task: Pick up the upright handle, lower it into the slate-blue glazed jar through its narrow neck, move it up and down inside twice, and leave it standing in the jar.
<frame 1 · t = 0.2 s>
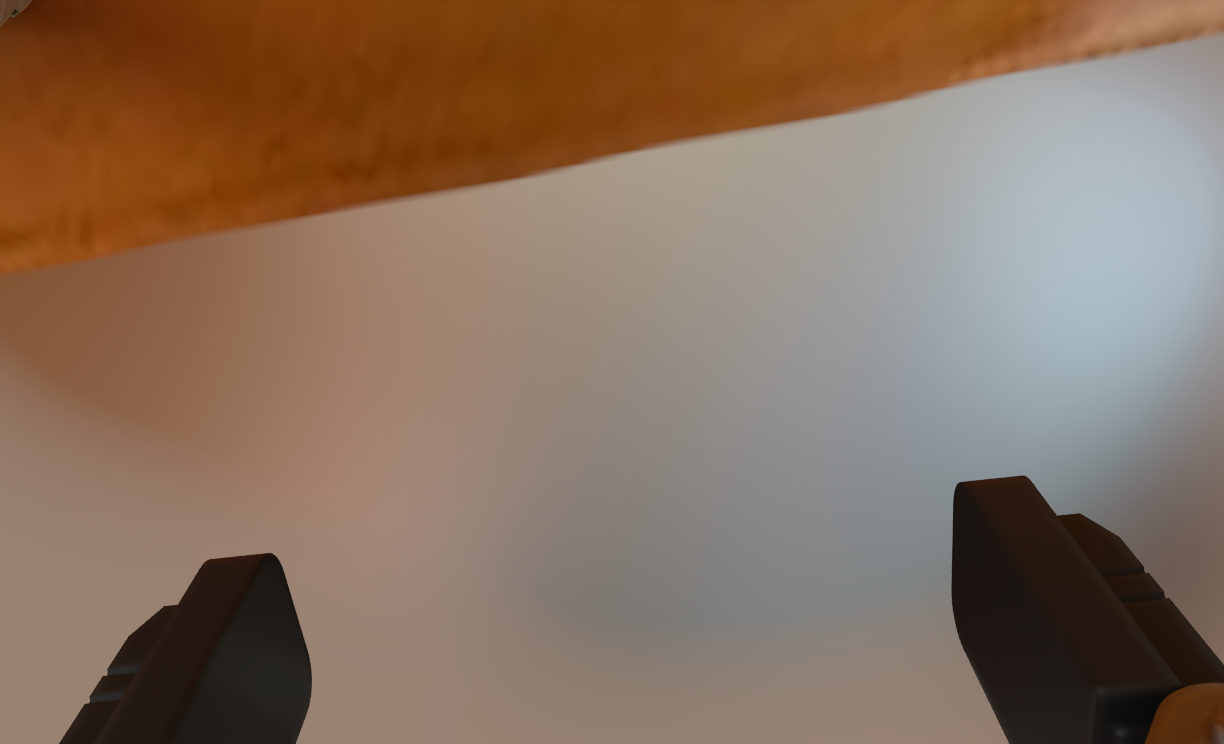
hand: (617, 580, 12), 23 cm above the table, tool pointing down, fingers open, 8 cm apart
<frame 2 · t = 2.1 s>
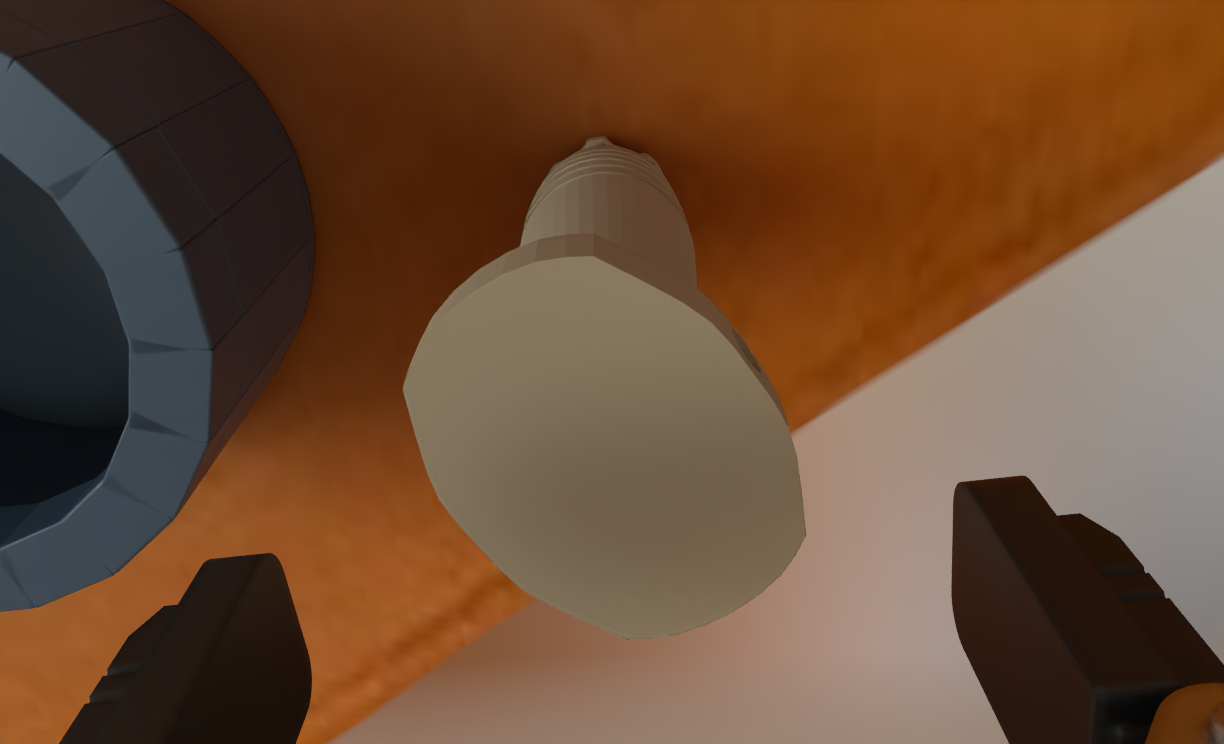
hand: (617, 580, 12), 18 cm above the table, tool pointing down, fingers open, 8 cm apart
jar: (63, 219, 29), on the table
handle: (605, 190, 29), on the table
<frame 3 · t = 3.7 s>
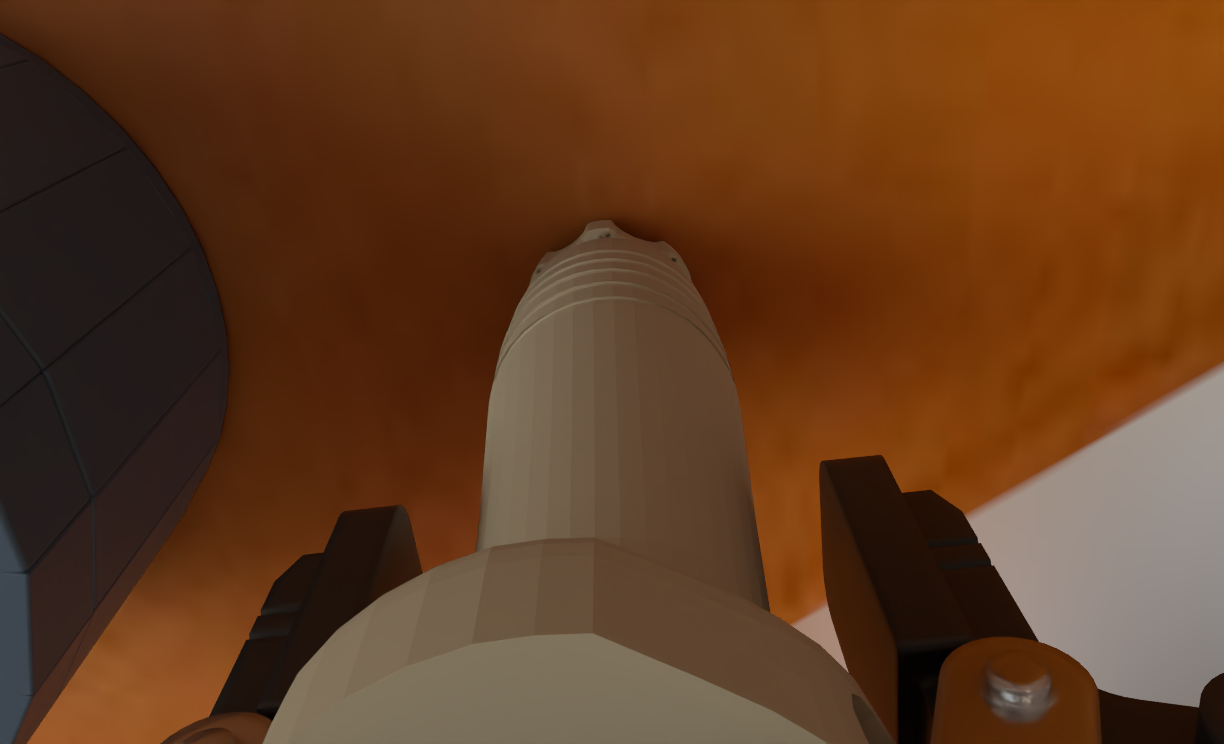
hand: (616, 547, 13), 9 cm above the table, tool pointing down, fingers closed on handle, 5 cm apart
handle: (611, 287, 22), on the table, touching gripper
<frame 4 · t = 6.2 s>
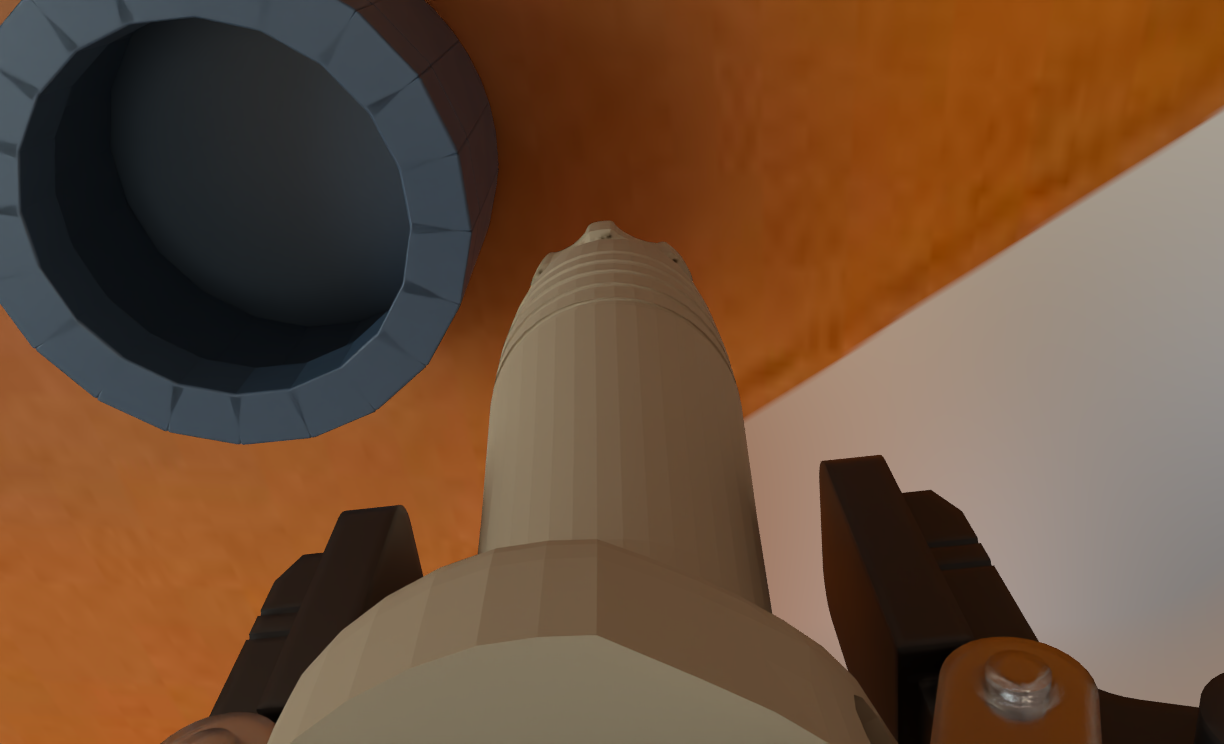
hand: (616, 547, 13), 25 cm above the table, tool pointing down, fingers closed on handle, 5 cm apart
jar: (299, 153, 36), on the table
handle: (612, 287, 22), point 16 cm above the table, touching gripper
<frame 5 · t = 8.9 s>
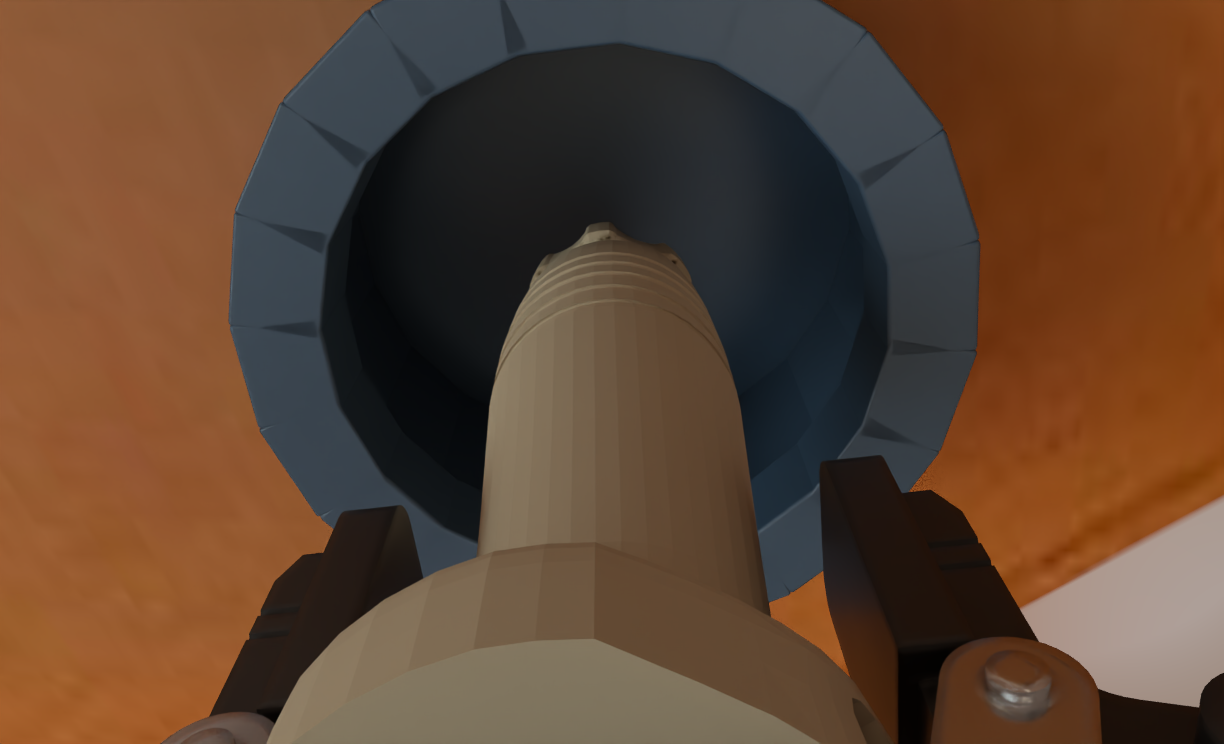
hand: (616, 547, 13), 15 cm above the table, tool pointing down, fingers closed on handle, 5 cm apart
jar: (605, 213, 27), on the table
handle: (611, 289, 22), point 6 cm above the table, touching gripper
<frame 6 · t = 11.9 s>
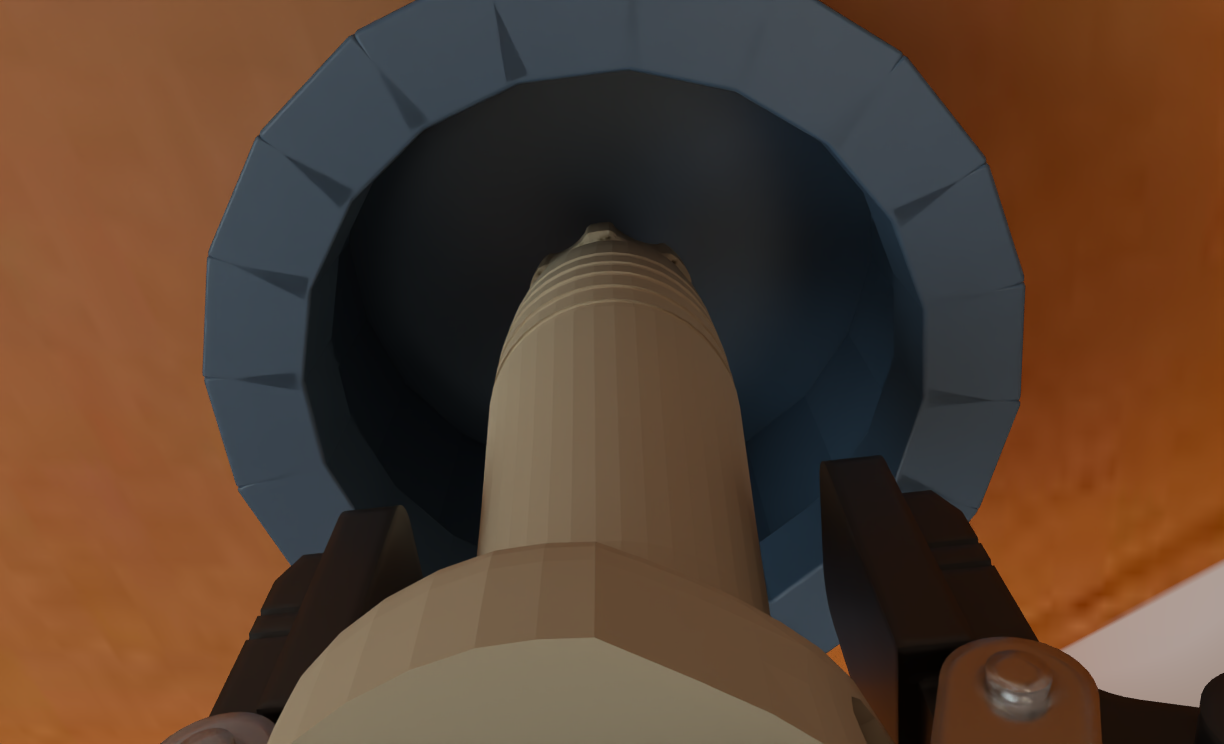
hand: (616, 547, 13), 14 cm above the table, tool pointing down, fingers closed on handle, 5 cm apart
jar: (611, 244, 25), on the table
handle: (611, 289, 22), point 4 cm above the table, touching gripper
when the fingers open (10 cm above the table, at t = 14.2 s): handle stays where it is, resting on jar.
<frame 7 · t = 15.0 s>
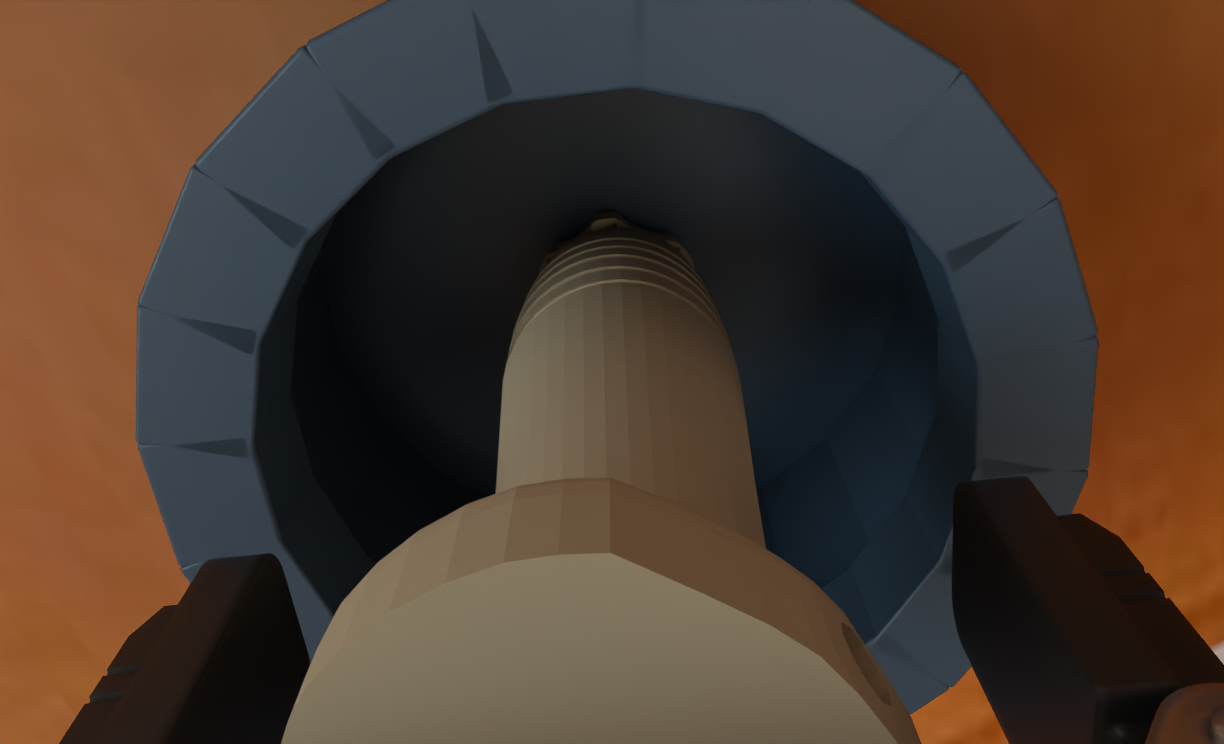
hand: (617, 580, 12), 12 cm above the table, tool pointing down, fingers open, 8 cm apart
jar: (612, 271, 23), on the table
handle: (617, 276, 23), resting on jar
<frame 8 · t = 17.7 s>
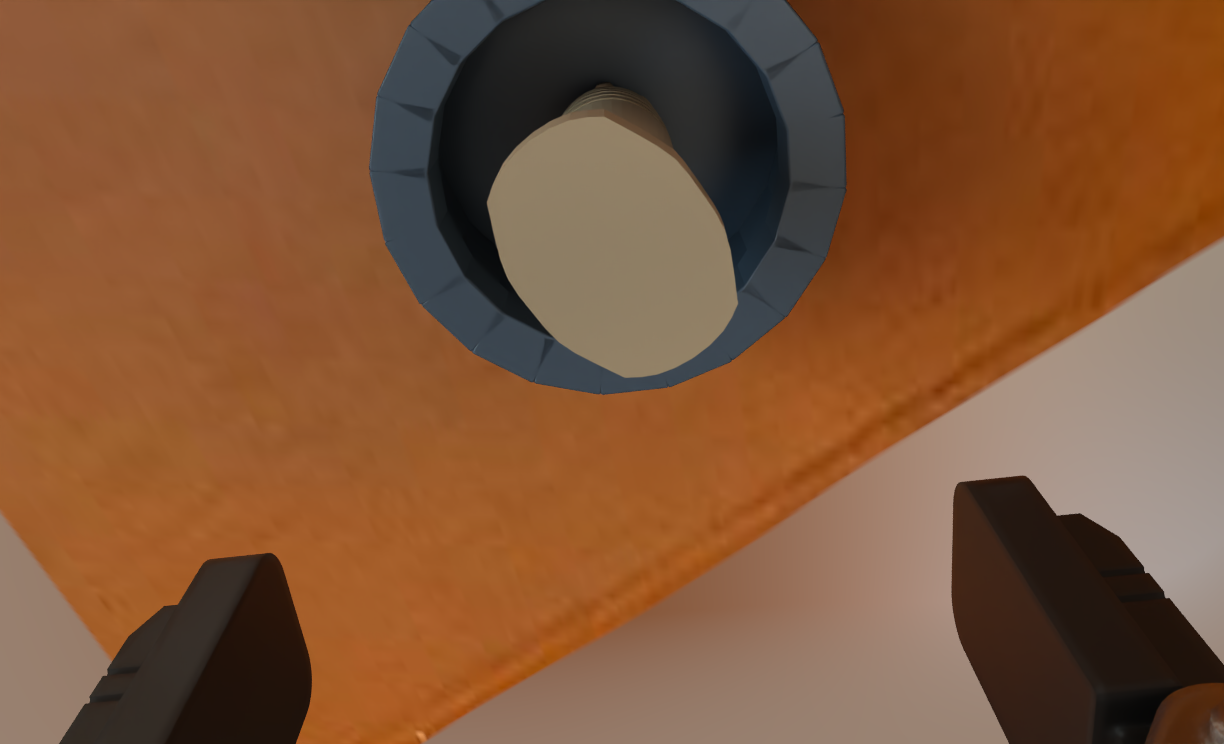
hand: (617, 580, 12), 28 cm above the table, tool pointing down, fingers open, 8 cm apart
jar: (607, 123, 38), on the table
handle: (610, 125, 38), resting on jar
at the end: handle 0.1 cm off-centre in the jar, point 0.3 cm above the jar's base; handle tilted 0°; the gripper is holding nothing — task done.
